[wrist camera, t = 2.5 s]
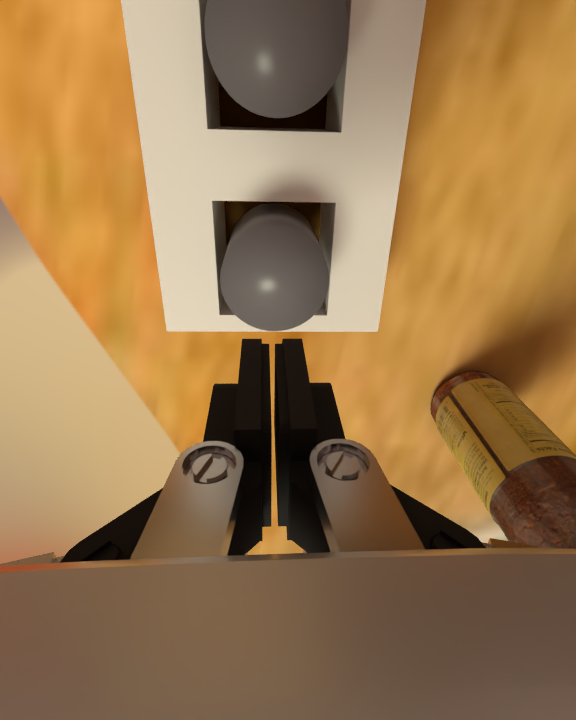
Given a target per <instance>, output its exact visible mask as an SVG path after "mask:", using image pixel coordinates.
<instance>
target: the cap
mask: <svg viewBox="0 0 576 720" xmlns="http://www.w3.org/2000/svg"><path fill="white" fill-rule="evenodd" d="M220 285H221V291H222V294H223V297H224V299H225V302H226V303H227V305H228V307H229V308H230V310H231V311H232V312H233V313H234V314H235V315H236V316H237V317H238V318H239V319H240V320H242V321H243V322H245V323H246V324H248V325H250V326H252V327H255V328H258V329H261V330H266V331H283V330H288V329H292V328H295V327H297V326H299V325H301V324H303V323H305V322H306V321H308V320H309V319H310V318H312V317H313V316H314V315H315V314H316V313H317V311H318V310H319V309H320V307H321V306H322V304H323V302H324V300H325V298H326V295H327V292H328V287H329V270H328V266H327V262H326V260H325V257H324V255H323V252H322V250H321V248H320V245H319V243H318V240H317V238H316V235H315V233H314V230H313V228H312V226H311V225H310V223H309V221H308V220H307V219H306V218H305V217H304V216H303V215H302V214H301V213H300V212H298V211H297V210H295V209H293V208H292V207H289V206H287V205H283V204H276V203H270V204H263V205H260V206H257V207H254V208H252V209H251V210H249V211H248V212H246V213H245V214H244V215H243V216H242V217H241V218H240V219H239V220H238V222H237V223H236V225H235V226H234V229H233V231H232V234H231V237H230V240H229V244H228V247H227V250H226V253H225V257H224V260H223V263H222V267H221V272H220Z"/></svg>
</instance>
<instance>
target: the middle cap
mask: <svg viewBox="0 0 576 720" xmlns="http://www.w3.org/2000/svg"><path fill="white" fill-rule="evenodd" d="M205 40H206V47H207V51H208V56H209V59H210V62H211V65H212V67H213V70H214V72H215V74H216V76H217V78H218V80H219V81H220V83H221V85H222V86H223V87H224V89H225V90H226V91H227V93H228V94H229V95H230V96H231V97H232V98H233V99H234V100H235V101H236V102H237V103H239V104H240V105H241V106H242V107H244V108H246V109H247V110H249V111H251V112H253V113H255V114H258V115H261V116H265V117H270V118H286V117H291V116H295V115H298V114H300V113H303V112H304V111H306V110H308V109H310V108H311V107H313V106H314V105H315V104H317V103H318V102H319V101H320V100H321V99H322V98H323V97H324V96H325V95H326V93H327V92H328V91H329V90H330V88H331V87H332V85H333V84H334V82H335V80H336V78H337V76H338V74H339V72H340V70H341V67H342V64H343V61H344V58H345V53H346V49H347V41H348V17H347V10H346V5H345V1H344V0H207V5H206V10H205Z"/></svg>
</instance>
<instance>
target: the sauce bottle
mask: <svg viewBox="0 0 576 720" xmlns="http://www.w3.org/2000/svg"><path fill="white" fill-rule="evenodd" d="M431 414H432V417H433V419H434V421H435V422H436V425H437V428H438V431H439V432H440V434H441V436H442V437H443V439H444V441H445V442H446V444H447V446H448V447H449V449H450V450H451V452H452V454H453V455H454V457H455V458H456V460H457V462H458V463H459V465H460V467H461V468H462V470H463V471H464V473H465V475H466V476H467V478H468V479H469V481H470V483H471V484H472V486H473V487H474V489H475V491H476V492H477V494H478V496H479V497H480V499H481V501H482V502H483V504H484V505H485V507H486V509H487V510H488V512H489V514H490V515H491V517H492V519H493V520H494V521H495V522H496V523H497V524H498V525H499V526H500V528H501V529H502V531H503V532H504V534H505V536H506V537H507V539H508V541H509V542H515V543H521V544H527V545H533V546H539V547H545V548H568V549H576V455H575V454H574V453H573V452H572V451H571V450H570V449H569V448H568V447H567V446H566V445H565V444H564V443H563V442H562V441H561V440H560V439H559V438H558V437H557V436H556V435H555V434H554V433H553V432H552V431H551V430H550V429H549V428H548V427H547V426H546V425H545V424H544V423H543V422H542V421H541V420H540V419H539V418H538V417H537V416H536V415H535V414H534V413H533V412H532V411H531V410H530V409H529V408H528V407H527V406H526V405H525V404H524V403H523V402H522V401H521V400H520V399H519V398H518V397H517V396H516V395H515V394H514V393H513V392H512V391H511V390H510V389H509V388H508V387H507V386H506V385H505V384H503V383H502V382H500V381H499V380H498V379H497V378H495V377H493V376H491V375H487V374H485V373H480V372H473V371H472V372H465V373H463V374H460V375H457V376H455V377H454V378H452V379H450V380H448V381H447V382H445V383H444V384H443V385H441V386H440V387H439V389H438V390H437V391H436V393H435V395H434V397H433V401H432V403H431Z"/></svg>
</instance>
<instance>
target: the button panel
mask: <svg viewBox="0 0 576 720" xmlns="http://www.w3.org/2000/svg"><path fill="white" fill-rule="evenodd" d="M344 1H345V5H346V10H347V17H348V41H347V49H346V53H345V58H344V61H343V64H342V67H341V70H340V72H339V74H338V76H337V78H336V80H335V82H334V84H333V85H332V87H331V88H330V90H329V91H328V92H327V109H326V126H325V129H296V128H256V127H220V108H219V89H218V78H217V76H216V74H215V72H214V70H213V67H212V65H211V62H210V59H209V56H208V51H207V47H206V40H205V10H206V5H207V0H121V3H122V10H123V18H124V25H125V32H126V39H127V47H128V54H129V61H130V68H131V75H132V83H133V90H134V97H135V104H136V112H137V119H138V126H139V133H140V141H141V148H142V155H143V162H144V170H145V177H146V184H147V191H148V199H149V206H150V213H151V220H152V227H153V235H154V242H155V249H156V256H157V264H158V271H159V278H160V285H161V293H162V300H163V307H164V314H165V322H166V329H167V331H266V330H261V329H258V328H255V327H252V326H250V325H248V324H246V323H245V322H243V321H242V320H240V319H239V318H238V317H237V316H236V315H235V314H234V313H233V312H232V311H231V310H230V308H229V307H228V305H227V303H226V302H225V299H224V297H223V294H222V291H221V285H220V272H221V267H222V263H223V260H224V257H225V253H226V250H227V245H226V225H225V206H224V201H265V202H321V209H320V226H319V245H320V248H321V250H322V252H323V255H324V257H325V260H326V262H327V266H328V270H329V287H328V292H327V295H326V298H325V300H324V302H323V304H322V306H321V307H320V309H319V310H318V311H317V313H316V314H315V315H314V316H313V317H312V318H310V319H309V320H308V321H306V322H305V323H303V324H301V325H299V326H297V327H295V328H292V329H288V330H283V331H311V332H378V326H379V320H380V313H381V306H382V299H383V292H384V286H385V279H386V272H387V265H388V258H389V252H390V245H391V238H392V231H393V225H394V218H395V211H396V204H397V197H398V191H399V184H400V177H401V170H402V163H403V157H404V150H405V143H406V136H407V129H408V123H409V116H410V109H411V102H412V96H413V89H414V82H415V75H416V68H417V62H418V55H419V48H420V41H421V34H422V28H423V21H424V14H425V7H426V1H427V0H344Z"/></svg>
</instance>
